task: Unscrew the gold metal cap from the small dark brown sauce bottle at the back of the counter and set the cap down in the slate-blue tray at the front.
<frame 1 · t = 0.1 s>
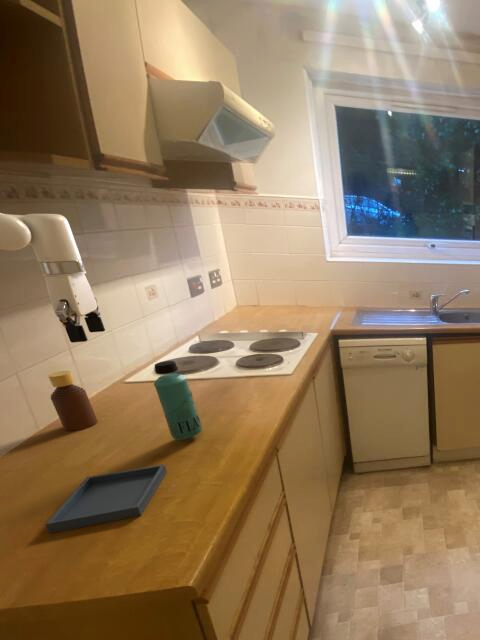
hand: (88, 336, 111), 22 cm above the countertop, tool pointing down, fingers open, 9 cm apart
beverage bottle: (189, 439, 107), on the countertop
cap: (60, 375, 108), point 14 cm above the countertop, screwed on, not yet turned
tray: (114, 499, 85), on the countertop
sauce bottle: (81, 425, 113), on the countertop
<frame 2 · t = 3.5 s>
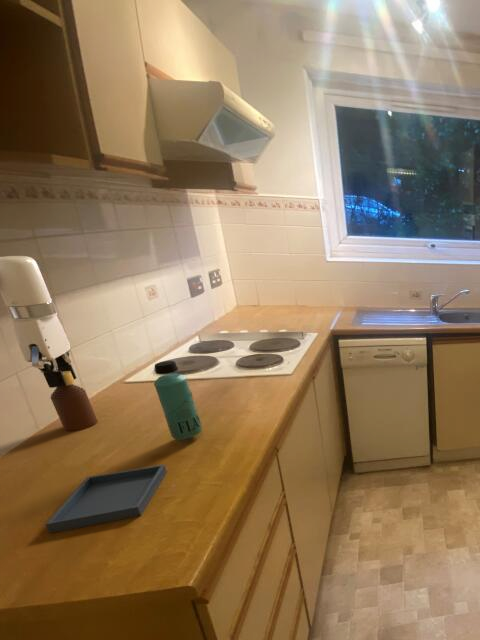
hand: (63, 382, 108), 12 cm above the countertop, tool pointing down, fingers closed on cap, 4 cm apart
cap: (60, 375, 108), point 14 cm above the countertop, screwed on, not yet turned, touching gripper
everything else where it was.
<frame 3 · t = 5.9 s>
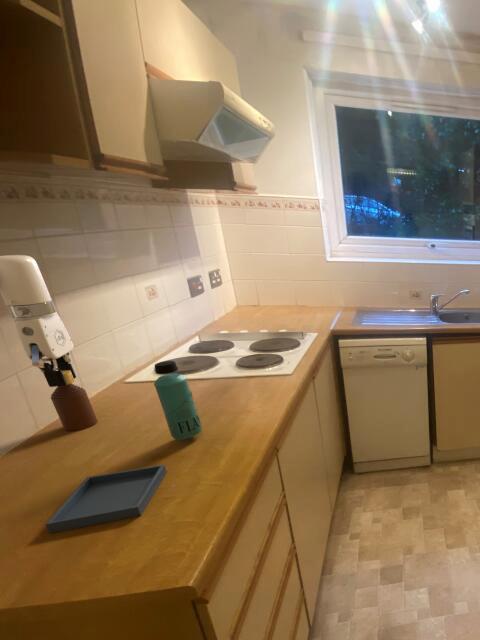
hand: (63, 381, 108), 12 cm above the countertop, tool pointing down, fingers closed on cap, 4 cm apart
cap: (60, 374, 108), point 14 cm above the countertop, turned 180° so far, risen 0.2 cm, still on its thread, touching gripper
everything else where it was.
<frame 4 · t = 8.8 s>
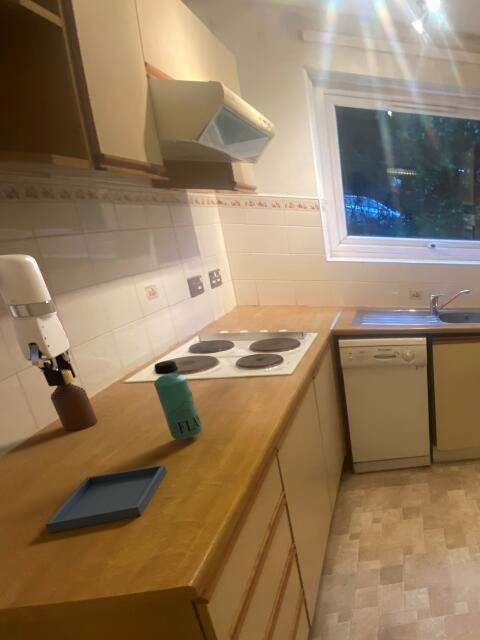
hand: (62, 381, 108), 12 cm above the countertop, tool pointing down, fingers closed on cap, 4 cm apart
cap: (59, 373, 108), point 14 cm above the countertop, off its thread, touching gripper
everything else where it was.
when the fingers open (1 cm above the countertop, at t = 20.9 s): cap stays where it is, resting on tray.
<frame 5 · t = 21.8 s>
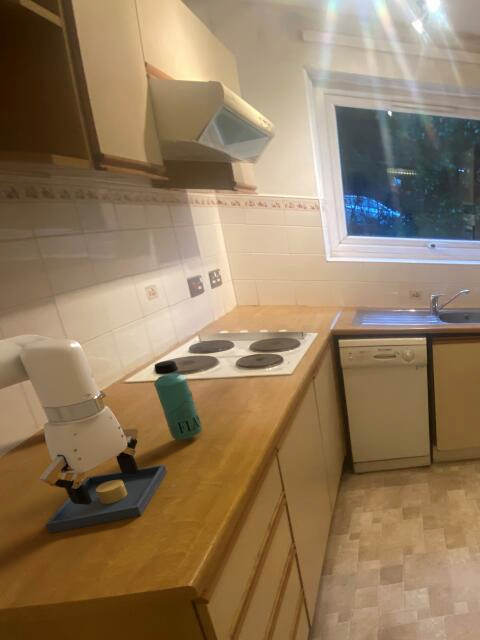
hand: (108, 487, 84), 3 cm above the countertop, tool pointing down, fingers open, 9 cm apart
cap: (110, 487, 84), point 3 cm above the countertop, off its thread, touching tray
everything else where it was.
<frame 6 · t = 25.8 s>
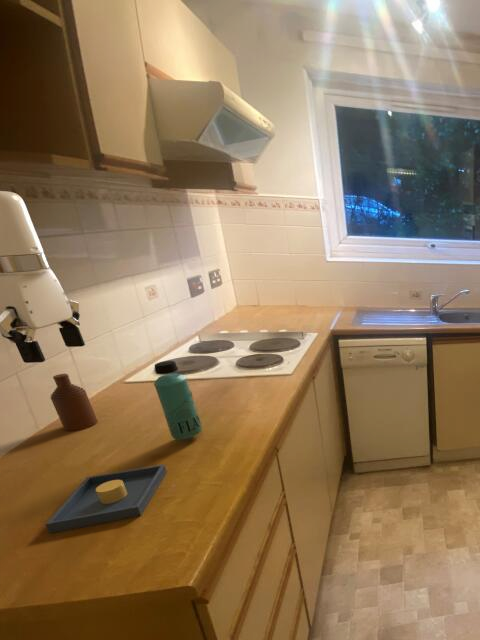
hand: (56, 353, 85), 26 cm above the countertop, tool pointing down, fingers open, 9 cm apart
nothing on the countertop moved.
at the end: cap came off its thread; cap inside the target area on the tray (0.2 cm from its centre), point 2.9 cm above the tray's base; the gripper is holding nothing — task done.
